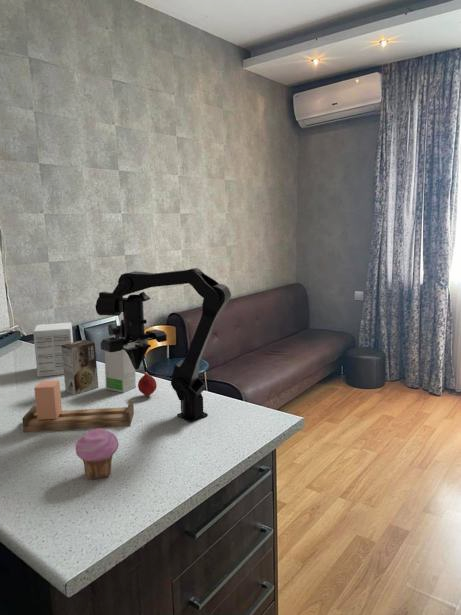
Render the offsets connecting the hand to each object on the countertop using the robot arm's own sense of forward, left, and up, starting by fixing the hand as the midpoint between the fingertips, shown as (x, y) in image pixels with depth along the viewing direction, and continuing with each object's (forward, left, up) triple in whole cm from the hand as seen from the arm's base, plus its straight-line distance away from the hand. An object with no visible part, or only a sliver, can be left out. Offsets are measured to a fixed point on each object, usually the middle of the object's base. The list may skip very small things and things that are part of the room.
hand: (136, 369), depth 130 cm
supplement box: (+59, 0, -13) cm, 60 cm away
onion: (+9, -9, -13) cm, 18 cm away
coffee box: (+31, +3, -13) cm, 34 cm away
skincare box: (+22, -7, -13) cm, 27 cm away
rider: (+10, +22, -11) cm, 27 cm away
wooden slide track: (+5, +15, -13) cm, 21 cm away
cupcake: (-24, +25, -13) cm, 37 cm away
